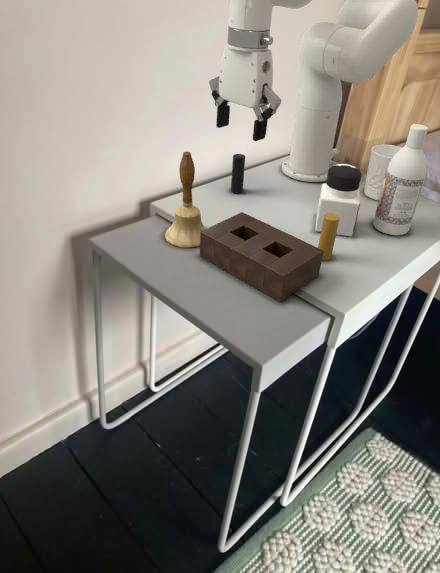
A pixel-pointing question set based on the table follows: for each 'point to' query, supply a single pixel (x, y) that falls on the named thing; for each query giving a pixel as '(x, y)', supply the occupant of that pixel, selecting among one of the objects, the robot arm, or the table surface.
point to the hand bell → (186, 211)
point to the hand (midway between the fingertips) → (240, 132)
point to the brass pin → (328, 234)
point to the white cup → (378, 168)
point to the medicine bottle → (340, 198)
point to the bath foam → (402, 185)
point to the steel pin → (237, 173)
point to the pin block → (261, 255)
